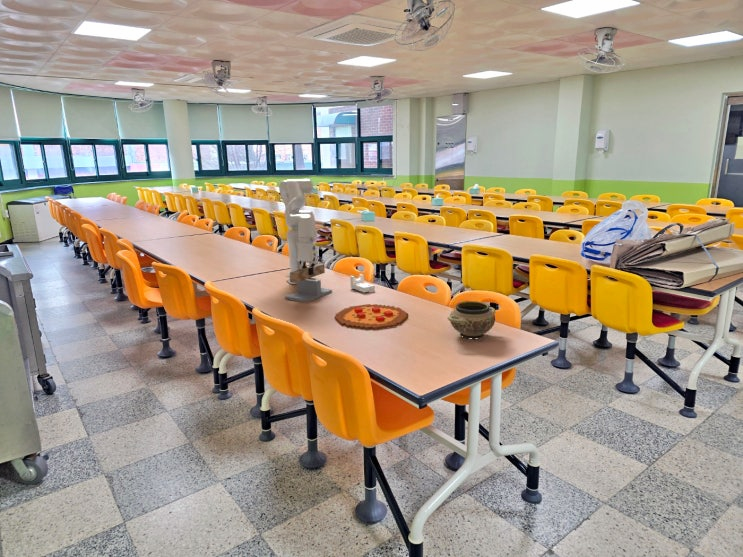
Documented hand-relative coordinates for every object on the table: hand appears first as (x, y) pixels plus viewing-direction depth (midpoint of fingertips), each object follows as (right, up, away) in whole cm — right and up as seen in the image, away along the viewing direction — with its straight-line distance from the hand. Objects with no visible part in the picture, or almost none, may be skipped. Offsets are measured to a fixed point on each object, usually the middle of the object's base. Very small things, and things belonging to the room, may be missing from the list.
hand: (308, 274), depth 255 cm
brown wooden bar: (0, -2, 0) cm, 2 cm away
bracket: (+29, -9, +12) cm, 32 cm away
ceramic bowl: (+74, -26, -58) cm, 98 cm away
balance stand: (0, -11, +3) cm, 12 cm away
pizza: (+33, -21, -33) cm, 52 cm away
